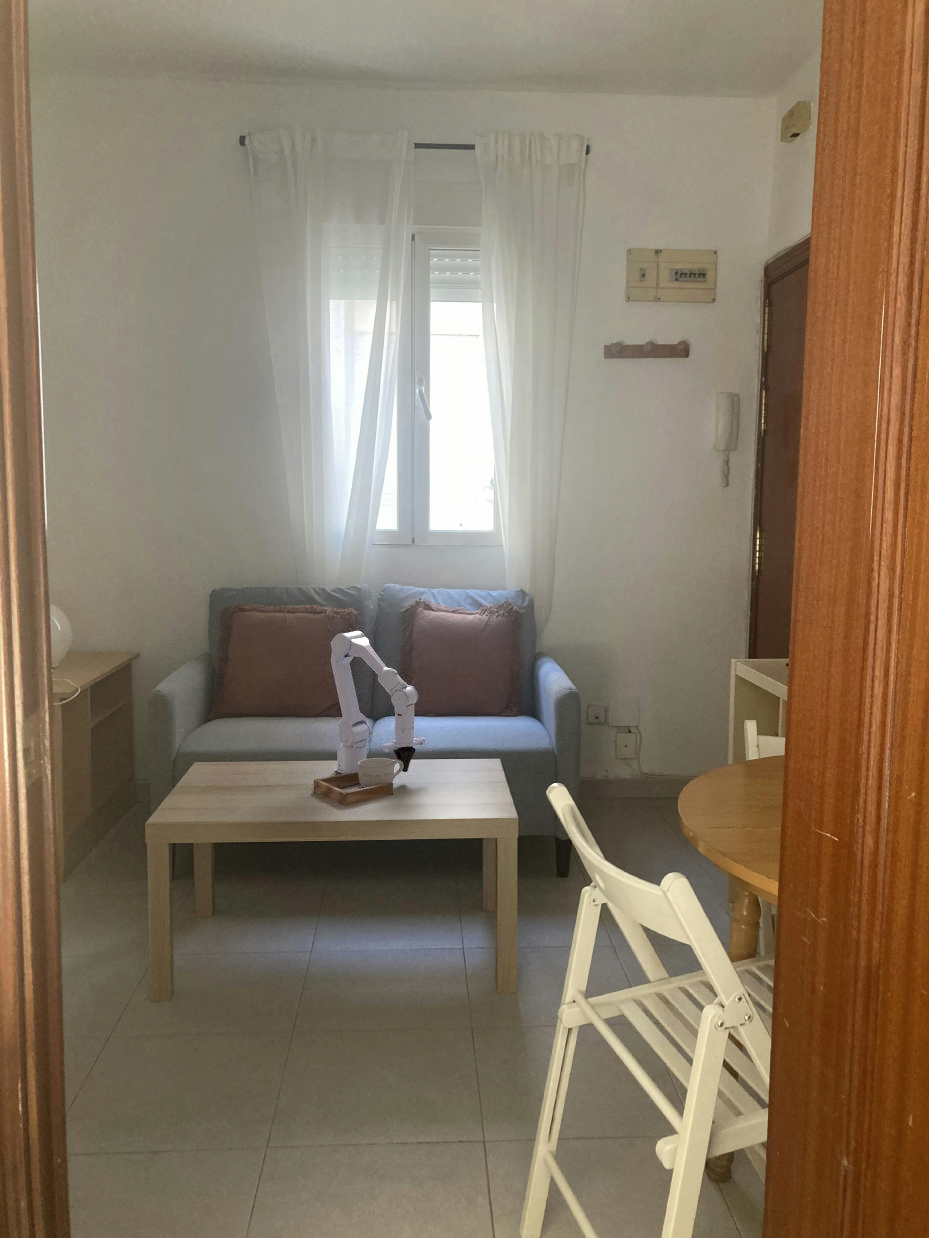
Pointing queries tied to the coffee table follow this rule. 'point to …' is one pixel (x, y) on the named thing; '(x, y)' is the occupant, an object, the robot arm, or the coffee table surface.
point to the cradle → (331, 791)
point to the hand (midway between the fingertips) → (404, 771)
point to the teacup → (377, 771)
